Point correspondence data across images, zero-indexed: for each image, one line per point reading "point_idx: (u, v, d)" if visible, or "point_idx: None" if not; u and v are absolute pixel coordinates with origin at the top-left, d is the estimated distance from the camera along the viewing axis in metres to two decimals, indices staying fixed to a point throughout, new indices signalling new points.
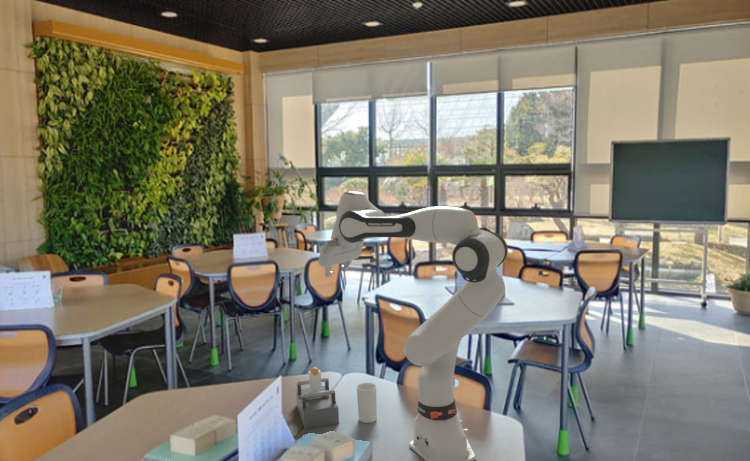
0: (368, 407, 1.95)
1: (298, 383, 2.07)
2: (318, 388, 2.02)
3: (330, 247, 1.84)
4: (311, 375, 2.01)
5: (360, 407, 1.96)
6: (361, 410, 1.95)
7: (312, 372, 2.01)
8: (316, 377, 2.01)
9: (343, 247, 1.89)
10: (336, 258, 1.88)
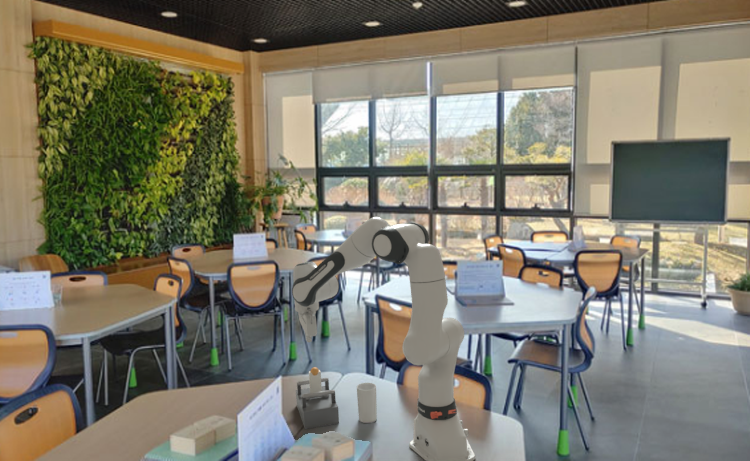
0: (368, 407, 1.95)
1: (298, 383, 2.07)
2: (318, 388, 2.02)
3: (313, 316, 2.01)
4: (311, 375, 2.01)
5: (360, 407, 1.96)
6: (361, 410, 1.95)
7: (312, 372, 2.01)
8: (316, 377, 2.01)
9: (313, 313, 2.08)
10: None
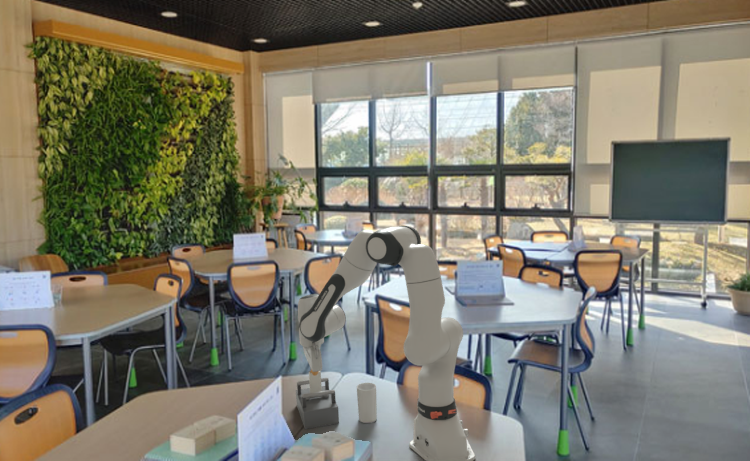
0: (368, 407, 1.95)
1: (298, 383, 2.07)
2: (318, 388, 2.02)
3: (319, 350, 1.97)
4: (311, 375, 2.01)
5: (360, 407, 1.96)
6: (361, 410, 1.95)
7: (312, 372, 2.01)
8: (316, 377, 2.01)
9: (318, 347, 2.03)
10: None
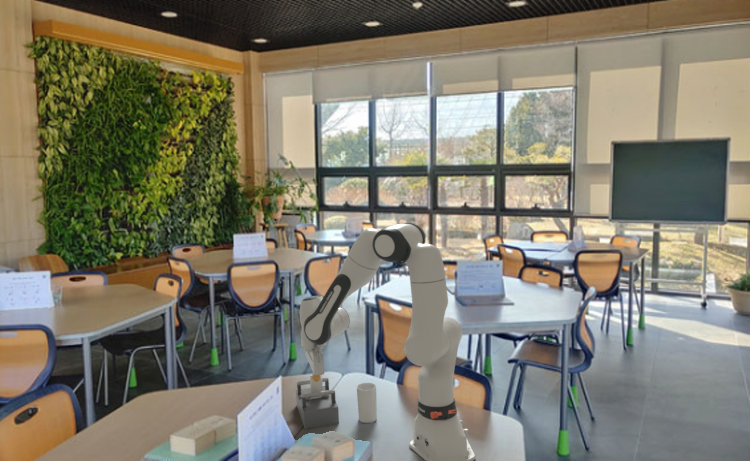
0: (368, 407, 1.95)
1: (298, 383, 2.07)
2: (319, 391, 2.01)
3: (321, 354, 1.92)
4: (313, 381, 1.98)
5: (360, 407, 1.96)
6: (361, 410, 1.95)
7: (314, 379, 1.97)
8: (317, 383, 1.99)
9: (320, 349, 1.99)
10: None
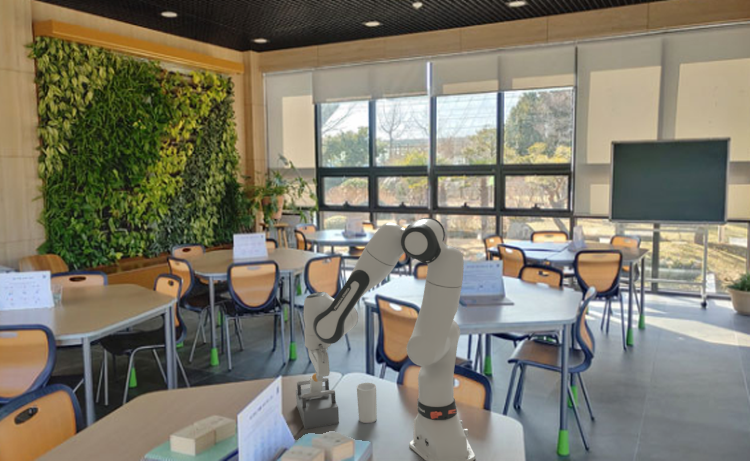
0: (368, 407, 1.95)
1: (298, 383, 2.07)
2: (319, 391, 2.01)
3: (326, 354, 1.81)
4: (313, 381, 1.98)
5: (360, 407, 1.96)
6: (361, 410, 1.95)
7: (314, 379, 1.97)
8: (317, 383, 1.99)
9: (325, 349, 1.87)
10: None
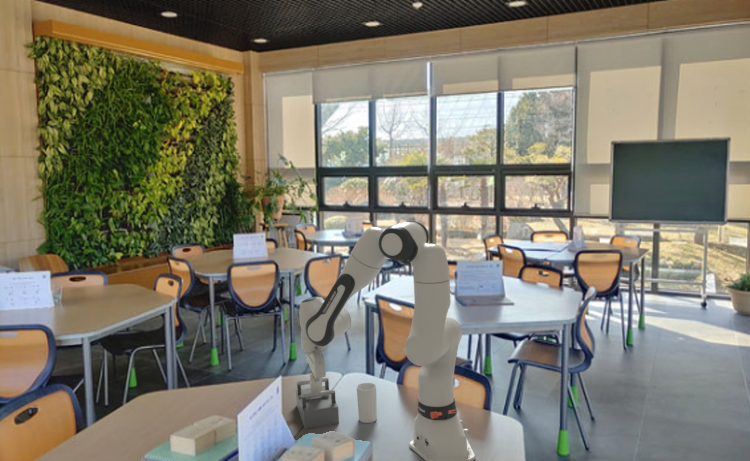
0: (368, 407, 1.95)
1: (298, 383, 2.07)
2: (319, 390, 2.01)
3: (322, 356, 1.88)
4: (312, 379, 1.99)
5: (360, 407, 1.96)
6: (361, 410, 1.95)
7: (313, 377, 1.98)
8: None
9: (321, 352, 1.95)
10: None
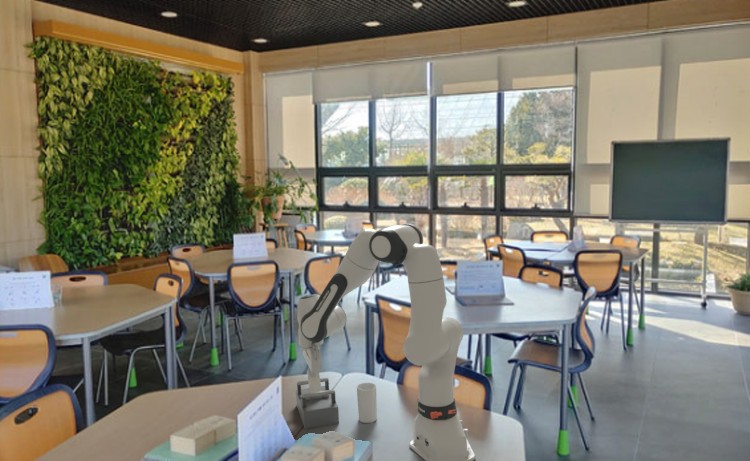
0: (368, 407, 1.95)
1: (298, 383, 2.07)
2: (317, 386, 2.04)
3: (318, 351, 1.94)
4: (309, 372, 2.05)
5: (360, 407, 1.96)
6: (361, 410, 1.95)
7: None
8: None
9: (318, 347, 2.00)
10: None
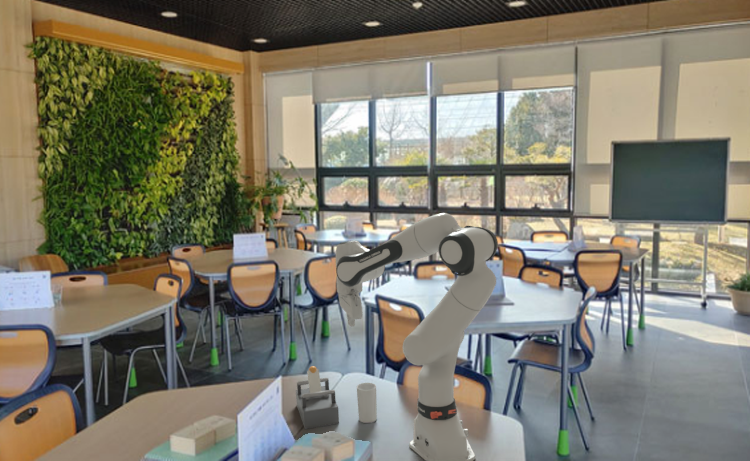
0: (368, 407, 1.95)
1: (298, 383, 2.07)
2: (317, 386, 2.04)
3: (358, 297, 1.88)
4: (309, 372, 2.05)
5: (360, 407, 1.96)
6: (361, 410, 1.95)
7: (310, 369, 2.05)
8: (314, 375, 2.05)
9: (357, 295, 1.95)
10: None
